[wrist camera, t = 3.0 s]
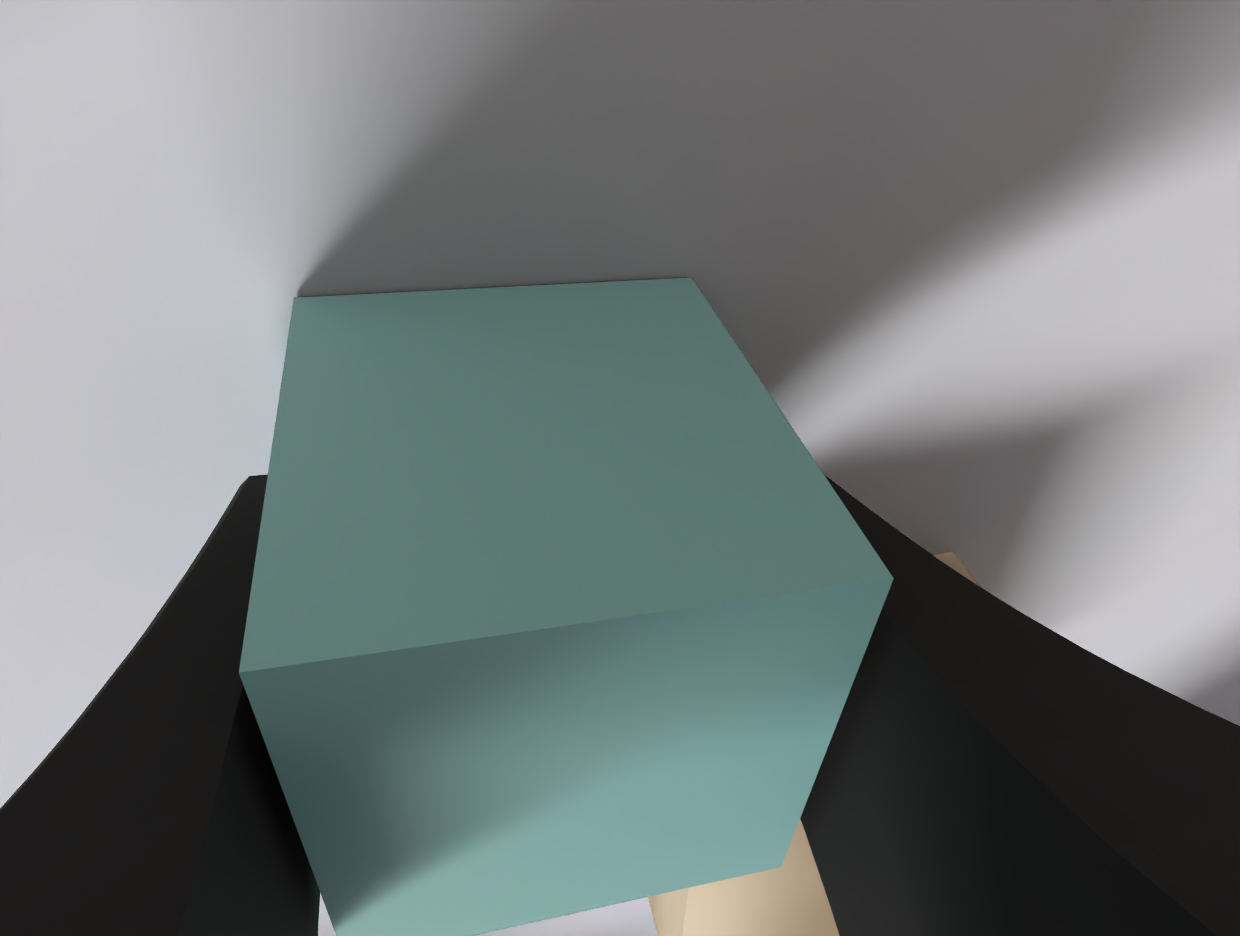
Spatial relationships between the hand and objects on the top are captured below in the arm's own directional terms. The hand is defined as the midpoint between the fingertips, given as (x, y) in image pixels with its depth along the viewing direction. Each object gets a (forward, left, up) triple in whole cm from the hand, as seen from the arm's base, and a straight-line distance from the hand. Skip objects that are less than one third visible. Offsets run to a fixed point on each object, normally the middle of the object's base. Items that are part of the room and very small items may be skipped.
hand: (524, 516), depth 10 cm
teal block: (0, 0, -1) cm, 1 cm away
